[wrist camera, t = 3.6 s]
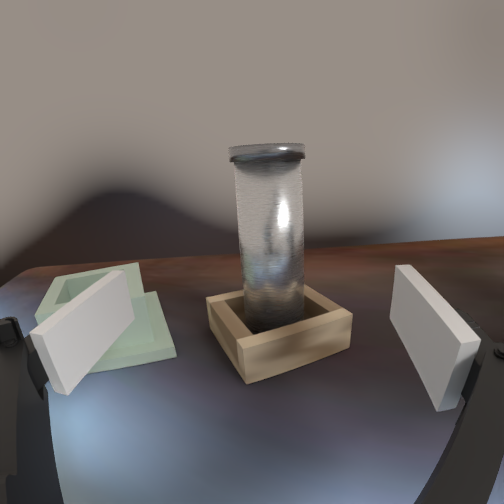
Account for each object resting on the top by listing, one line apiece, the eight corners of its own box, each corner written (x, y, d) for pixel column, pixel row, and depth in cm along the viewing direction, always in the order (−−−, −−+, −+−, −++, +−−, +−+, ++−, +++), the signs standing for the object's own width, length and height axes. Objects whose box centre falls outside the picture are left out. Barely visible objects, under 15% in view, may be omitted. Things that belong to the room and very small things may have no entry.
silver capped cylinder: (287, 317, 28) (281, 147, 24) (319, 344, 23) (319, 143, 19) (234, 332, 26) (218, 149, 22) (259, 364, 22) (245, 144, 17)
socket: (157, 299, 33) (150, 256, 32) (176, 356, 23) (165, 299, 21) (58, 317, 29) (46, 275, 28) (38, 380, 18) (15, 325, 17)
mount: (294, 306, 30) (294, 277, 29) (349, 347, 22) (352, 313, 22) (210, 327, 27) (205, 297, 26) (246, 384, 19) (243, 348, 19)
